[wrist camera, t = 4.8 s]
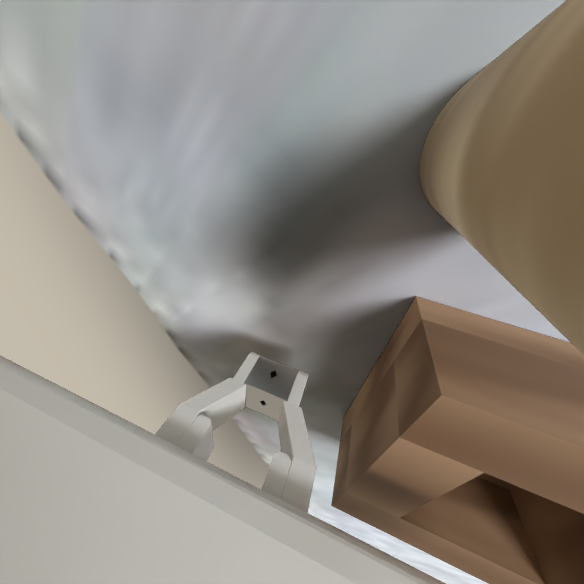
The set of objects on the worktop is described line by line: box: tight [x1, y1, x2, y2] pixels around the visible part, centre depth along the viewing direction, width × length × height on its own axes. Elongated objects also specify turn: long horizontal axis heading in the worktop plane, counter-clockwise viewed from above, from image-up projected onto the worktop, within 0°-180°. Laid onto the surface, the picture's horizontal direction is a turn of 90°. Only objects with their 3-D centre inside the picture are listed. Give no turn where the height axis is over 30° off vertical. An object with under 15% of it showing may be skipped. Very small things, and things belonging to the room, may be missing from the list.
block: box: [331, 297, 584, 584], centre depth 9 cm, size 10×10×4 cm
